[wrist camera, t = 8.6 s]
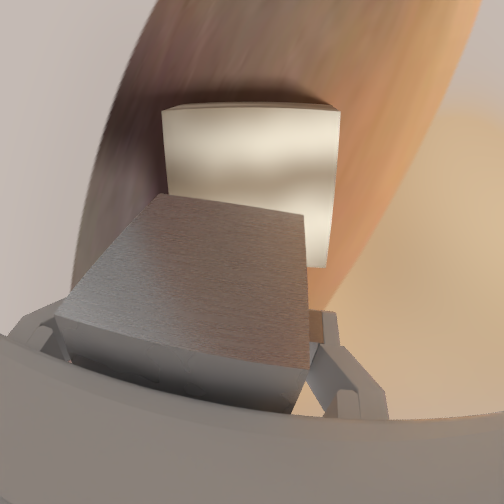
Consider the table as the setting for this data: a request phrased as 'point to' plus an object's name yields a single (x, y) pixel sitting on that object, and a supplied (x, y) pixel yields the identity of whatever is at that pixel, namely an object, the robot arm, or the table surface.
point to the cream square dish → (258, 159)
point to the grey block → (198, 304)
